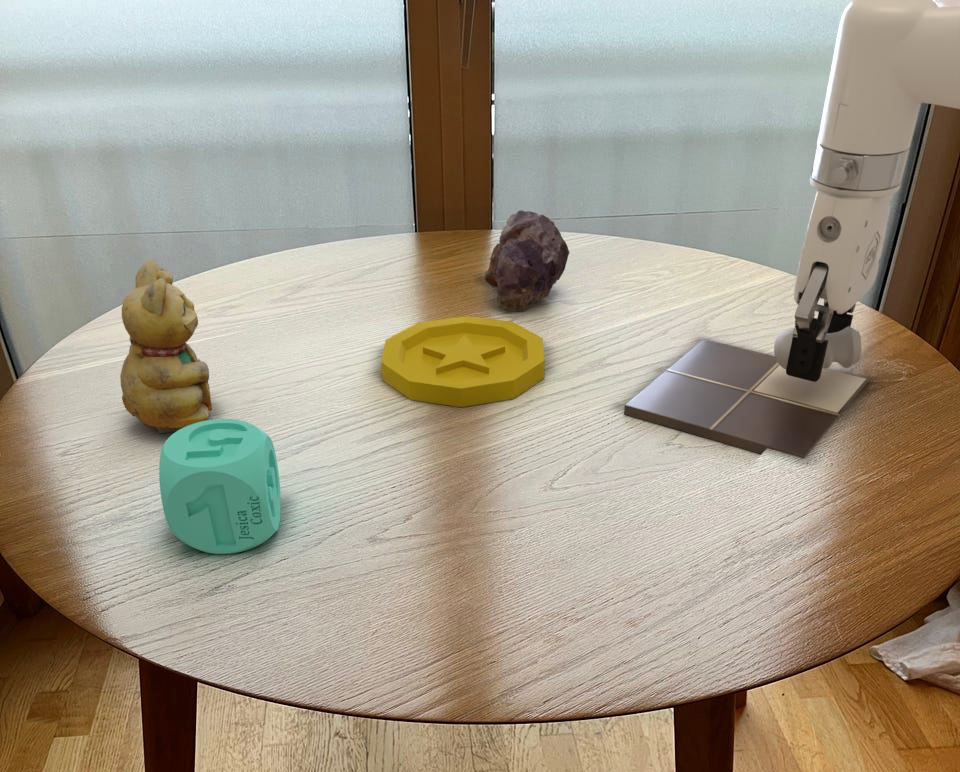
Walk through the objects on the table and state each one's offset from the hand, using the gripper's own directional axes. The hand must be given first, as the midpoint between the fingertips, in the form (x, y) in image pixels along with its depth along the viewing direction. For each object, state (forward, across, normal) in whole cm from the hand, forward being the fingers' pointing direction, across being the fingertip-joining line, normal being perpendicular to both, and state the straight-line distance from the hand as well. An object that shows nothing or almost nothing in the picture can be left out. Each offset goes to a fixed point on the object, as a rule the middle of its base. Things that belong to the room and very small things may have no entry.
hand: (815, 362), depth 97 cm
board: (+3, -4, +4) cm, 7 cm away
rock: (+4, +6, +38) cm, 38 cm away
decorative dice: (+4, -48, +32) cm, 58 cm away
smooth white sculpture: (+1, 0, 0) cm, 1 cm away
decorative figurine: (+4, -38, +50) cm, 63 cm away
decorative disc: (+4, -14, +32) cm, 35 cm away
